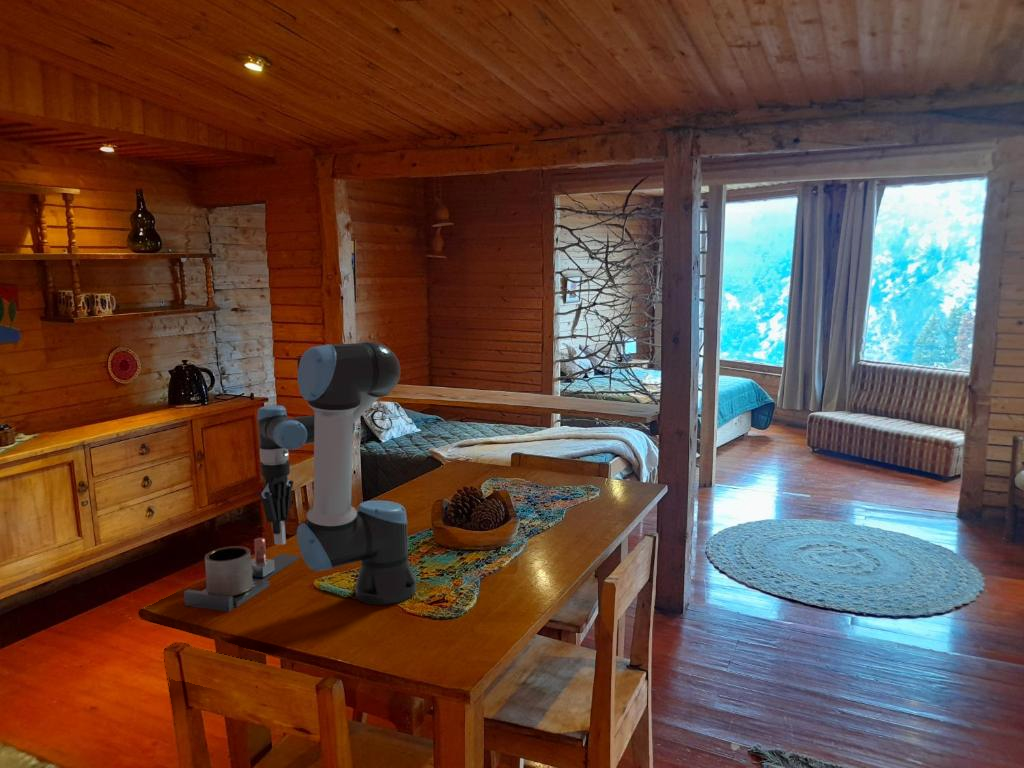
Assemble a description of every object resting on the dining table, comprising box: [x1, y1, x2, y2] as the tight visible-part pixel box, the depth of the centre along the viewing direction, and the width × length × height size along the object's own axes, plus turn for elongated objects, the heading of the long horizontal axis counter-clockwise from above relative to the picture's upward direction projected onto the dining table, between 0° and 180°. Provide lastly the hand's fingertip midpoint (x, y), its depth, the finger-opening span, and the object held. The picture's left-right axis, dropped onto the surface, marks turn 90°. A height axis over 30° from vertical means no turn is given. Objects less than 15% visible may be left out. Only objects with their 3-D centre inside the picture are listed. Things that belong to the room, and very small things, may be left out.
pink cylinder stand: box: [251, 537, 275, 577], centre depth 193 cm, size 9×6×9 cm, turn 162°
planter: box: [204, 545, 253, 597], centre depth 184 cm, size 11×11×10 cm
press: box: [183, 553, 301, 613], centre depth 193 cm, size 34×13×4 cm, turn 162°
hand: (280, 543), depth 204 cm, fingers closed
